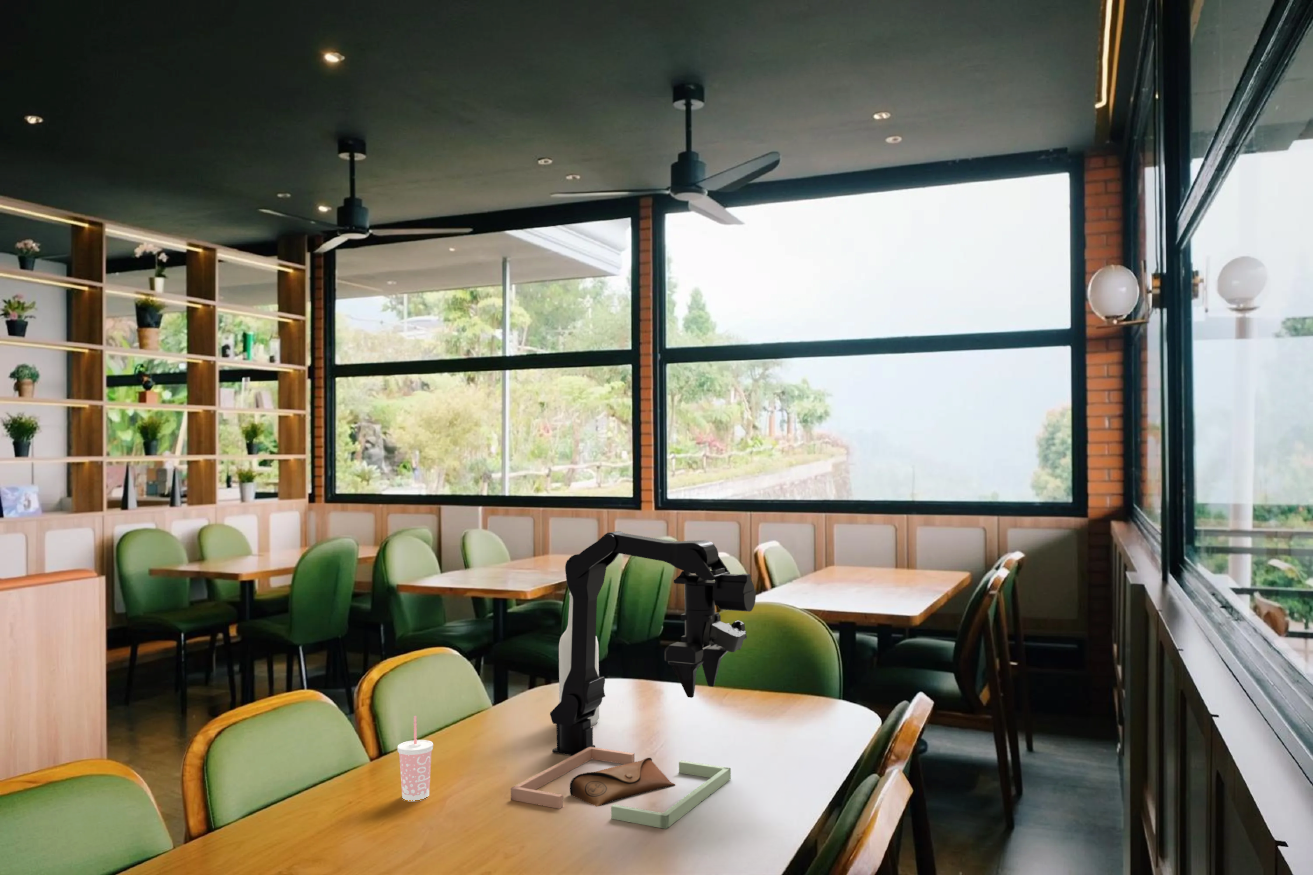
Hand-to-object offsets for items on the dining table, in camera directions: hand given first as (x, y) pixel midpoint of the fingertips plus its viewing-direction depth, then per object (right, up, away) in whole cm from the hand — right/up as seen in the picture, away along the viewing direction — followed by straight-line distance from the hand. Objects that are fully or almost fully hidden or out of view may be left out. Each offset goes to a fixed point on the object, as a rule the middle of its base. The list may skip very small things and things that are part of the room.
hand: (701, 691), depth 179 cm
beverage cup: (-50, -15, -12) cm, 54 cm away
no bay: (-23, -15, -5) cm, 28 cm away
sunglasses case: (-14, -15, -10) cm, 23 cm away
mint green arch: (-5, -14, -14) cm, 21 cm away
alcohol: (-26, -16, +33) cm, 45 cm away
